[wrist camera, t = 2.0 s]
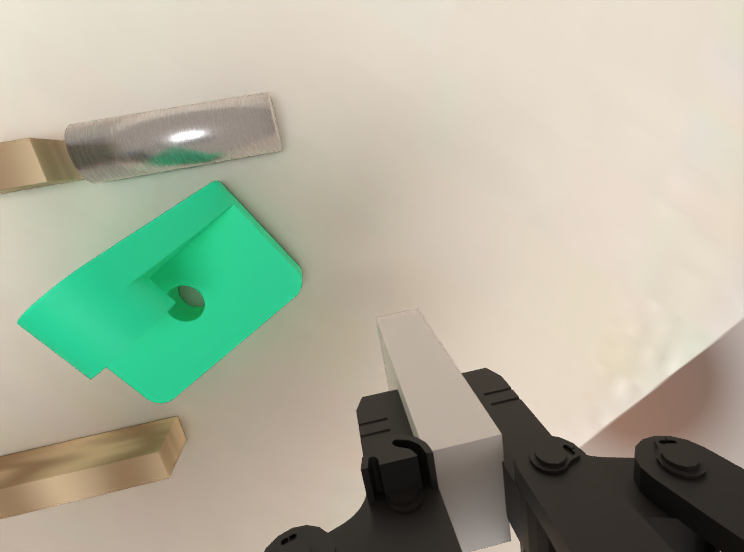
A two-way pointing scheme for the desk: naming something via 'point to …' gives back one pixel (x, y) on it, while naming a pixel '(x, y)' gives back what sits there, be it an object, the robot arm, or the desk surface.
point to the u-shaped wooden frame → (93, 453)
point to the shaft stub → (173, 138)
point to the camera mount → (168, 296)
